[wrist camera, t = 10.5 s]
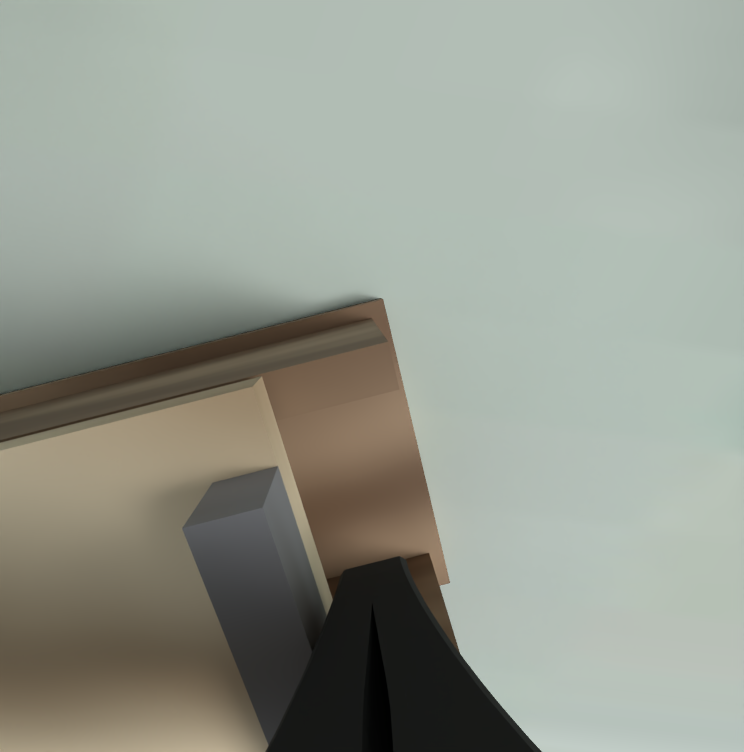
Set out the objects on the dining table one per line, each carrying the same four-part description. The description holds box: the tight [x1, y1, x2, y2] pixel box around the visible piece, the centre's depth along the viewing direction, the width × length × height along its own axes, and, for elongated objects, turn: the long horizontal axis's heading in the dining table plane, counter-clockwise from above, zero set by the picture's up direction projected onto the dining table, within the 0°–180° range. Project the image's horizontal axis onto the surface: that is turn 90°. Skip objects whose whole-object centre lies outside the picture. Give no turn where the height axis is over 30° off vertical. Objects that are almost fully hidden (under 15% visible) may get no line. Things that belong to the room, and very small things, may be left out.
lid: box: [0, 376, 333, 752], centre depth 8 cm, size 10×11×2 cm
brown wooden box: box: [0, 298, 460, 653], centre depth 12 cm, size 11×24×6 cm, turn 104°
